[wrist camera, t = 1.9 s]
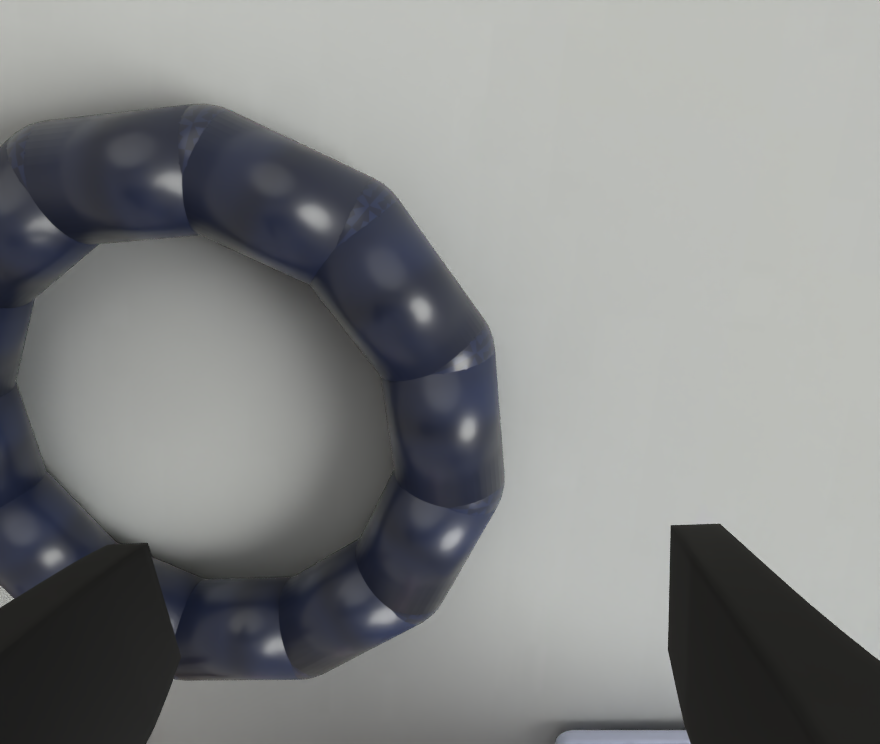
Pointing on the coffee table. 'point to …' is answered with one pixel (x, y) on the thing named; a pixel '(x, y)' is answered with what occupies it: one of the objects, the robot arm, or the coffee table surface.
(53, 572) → the dark blue ring
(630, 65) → the coffee table surface
